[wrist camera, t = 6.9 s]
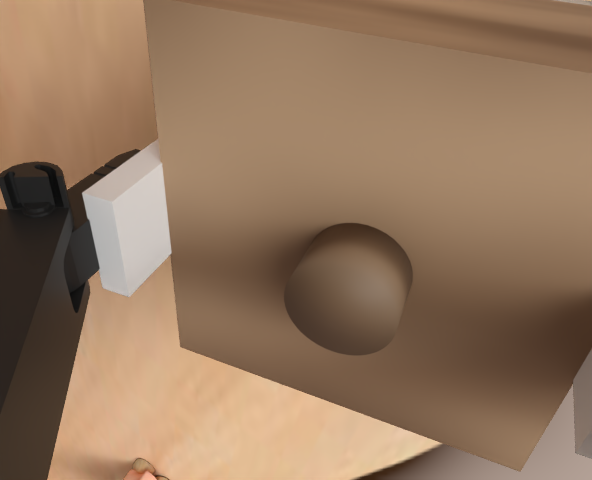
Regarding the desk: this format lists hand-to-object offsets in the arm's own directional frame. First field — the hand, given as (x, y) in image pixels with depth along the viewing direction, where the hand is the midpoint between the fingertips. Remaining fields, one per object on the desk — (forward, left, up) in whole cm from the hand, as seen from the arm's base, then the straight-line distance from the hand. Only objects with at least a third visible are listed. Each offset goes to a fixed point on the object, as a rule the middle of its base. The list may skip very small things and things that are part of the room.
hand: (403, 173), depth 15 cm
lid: (0, 0, 0) cm, 0 cm away
